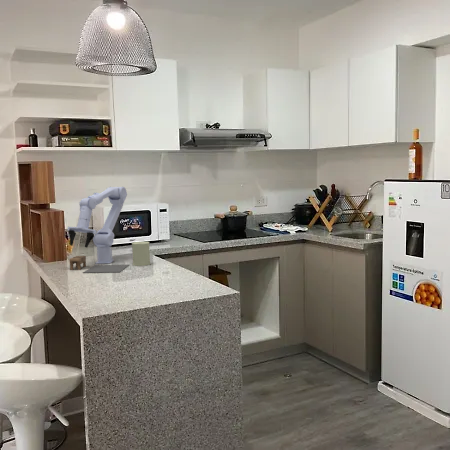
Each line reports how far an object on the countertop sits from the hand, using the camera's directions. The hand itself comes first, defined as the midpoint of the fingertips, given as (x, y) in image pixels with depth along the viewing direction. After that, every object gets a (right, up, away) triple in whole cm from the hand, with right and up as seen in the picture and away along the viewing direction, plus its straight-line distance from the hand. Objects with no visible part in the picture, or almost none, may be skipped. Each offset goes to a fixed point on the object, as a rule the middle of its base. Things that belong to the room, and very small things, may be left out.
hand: (78, 246), depth 258 cm
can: (+30, -10, +10) cm, 33 cm away
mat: (+15, -11, -1) cm, 19 cm away
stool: (-1, -11, +3) cm, 12 cm away
